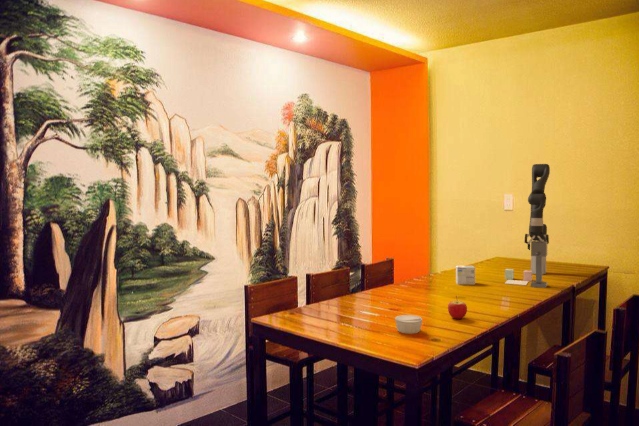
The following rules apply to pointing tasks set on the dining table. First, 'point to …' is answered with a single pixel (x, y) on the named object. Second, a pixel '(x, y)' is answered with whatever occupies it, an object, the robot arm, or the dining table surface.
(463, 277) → the light bulb box
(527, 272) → the block
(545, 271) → the robot arm
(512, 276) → the pale green rectangular block
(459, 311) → the apple
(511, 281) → the plate
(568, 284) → the dining table surface
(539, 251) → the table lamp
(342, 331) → the dining table surface
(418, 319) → the ramekin
